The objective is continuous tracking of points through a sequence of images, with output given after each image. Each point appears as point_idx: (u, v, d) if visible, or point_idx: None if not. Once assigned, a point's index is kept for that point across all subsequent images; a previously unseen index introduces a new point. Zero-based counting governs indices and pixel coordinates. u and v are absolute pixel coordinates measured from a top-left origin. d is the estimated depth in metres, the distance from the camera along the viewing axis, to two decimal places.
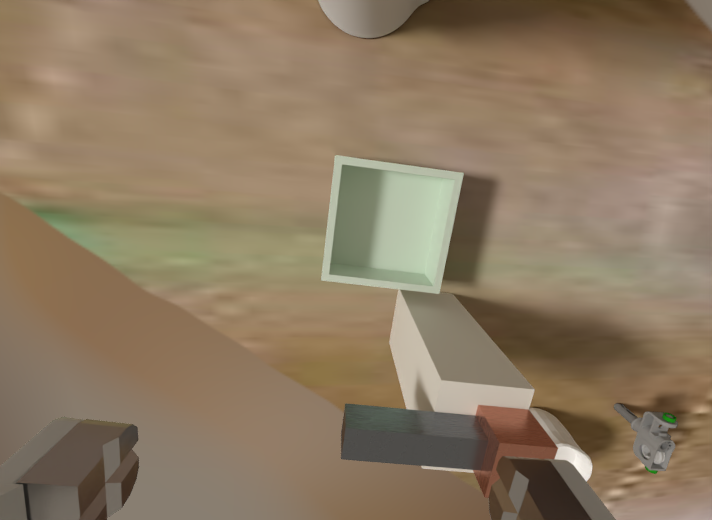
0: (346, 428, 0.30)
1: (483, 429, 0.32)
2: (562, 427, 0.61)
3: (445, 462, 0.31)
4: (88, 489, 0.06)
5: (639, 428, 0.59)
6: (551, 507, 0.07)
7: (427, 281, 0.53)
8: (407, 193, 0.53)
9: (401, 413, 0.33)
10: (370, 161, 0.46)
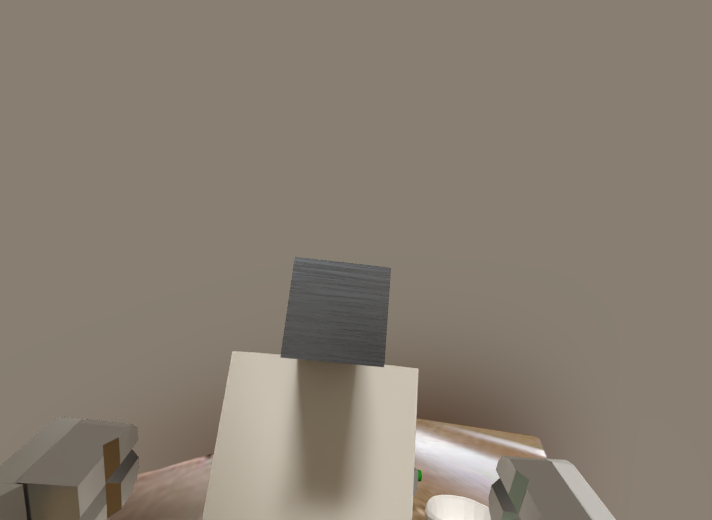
0: (297, 259, 0.12)
1: None
2: None
3: None
4: (88, 489, 0.06)
5: None
6: (551, 507, 0.07)
7: None
8: None
9: None
10: None
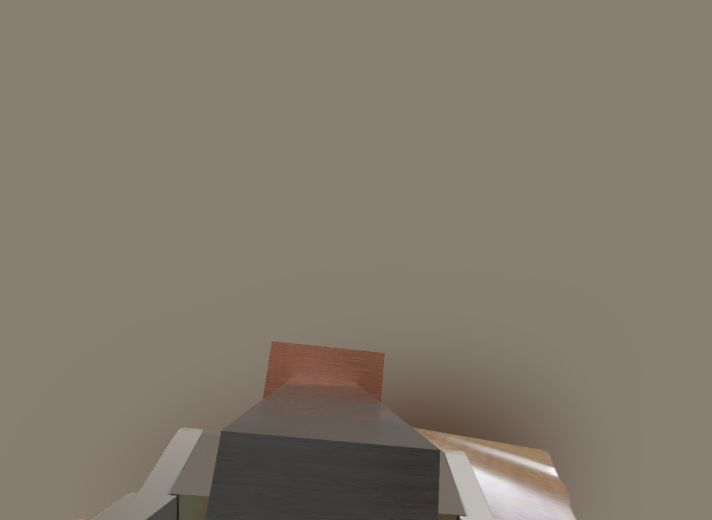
0: (227, 433, 0.05)
1: None
2: None
3: (351, 389, 0.14)
4: None
5: None
6: None
7: None
8: None
9: None
10: None
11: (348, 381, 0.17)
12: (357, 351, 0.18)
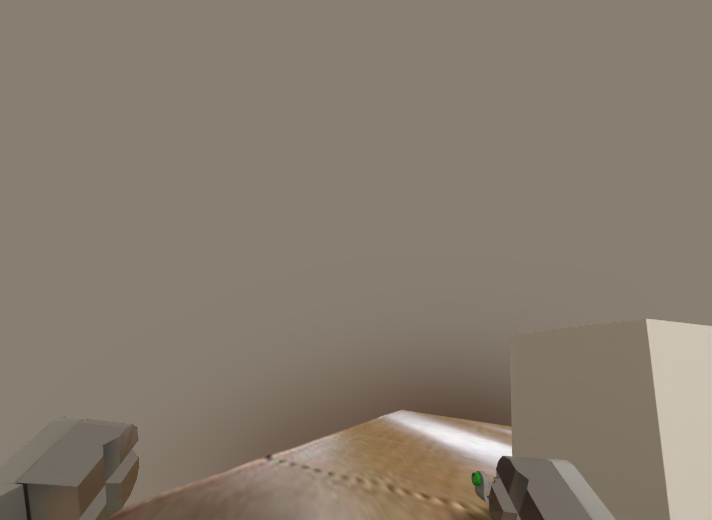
0: None
1: None
2: None
3: None
4: (88, 489, 0.06)
5: None
6: (551, 507, 0.07)
7: None
8: None
9: None
10: None
11: None
12: None
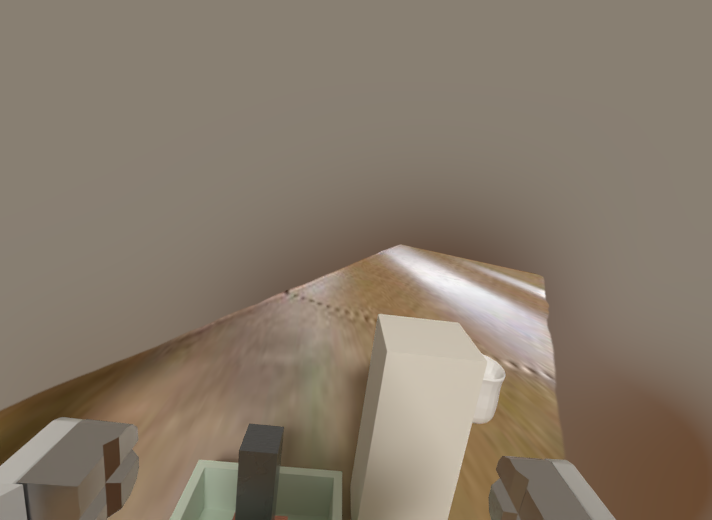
0: (249, 424, 0.33)
1: None
2: None
3: None
4: (88, 489, 0.06)
5: None
6: (551, 507, 0.07)
7: (331, 494, 0.42)
8: None
9: None
10: None
11: None
12: (275, 516, 0.38)
